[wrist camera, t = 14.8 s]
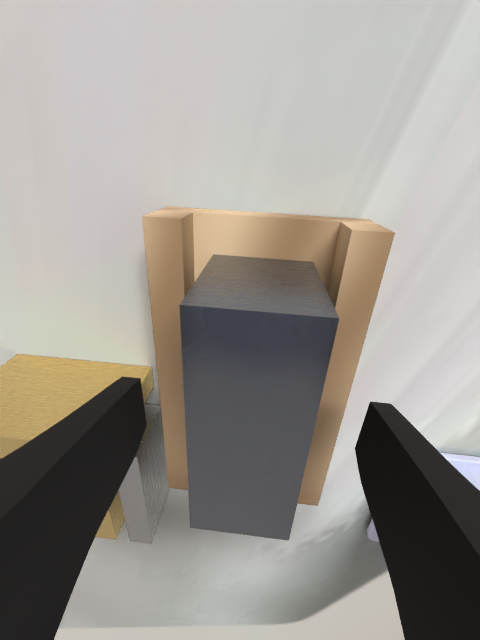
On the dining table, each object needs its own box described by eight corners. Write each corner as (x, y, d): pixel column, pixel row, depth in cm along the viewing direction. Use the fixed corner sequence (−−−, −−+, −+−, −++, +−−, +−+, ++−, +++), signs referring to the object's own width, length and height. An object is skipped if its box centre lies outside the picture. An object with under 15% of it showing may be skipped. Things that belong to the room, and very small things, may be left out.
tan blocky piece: (151, 367, 15) (103, 448, 10) (165, 496, 19) (136, 588, 15) (17, 354, 15) (-82, 427, 11) (63, 483, 20) (6, 569, 16)
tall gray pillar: (313, 261, 11) (339, 318, 7) (279, 465, 16) (282, 568, 12) (213, 254, 11) (179, 304, 7) (211, 458, 16) (191, 555, 12)
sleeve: (161, 405, 16) (137, 457, 13) (169, 487, 19) (151, 543, 16) (25, 390, 16) (-27, 438, 13) (55, 473, 19) (18, 526, 17)
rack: (369, 219, 11) (394, 233, 8) (311, 460, 17) (317, 505, 14) (167, 206, 11) (142, 216, 9) (182, 446, 17) (168, 487, 15)
